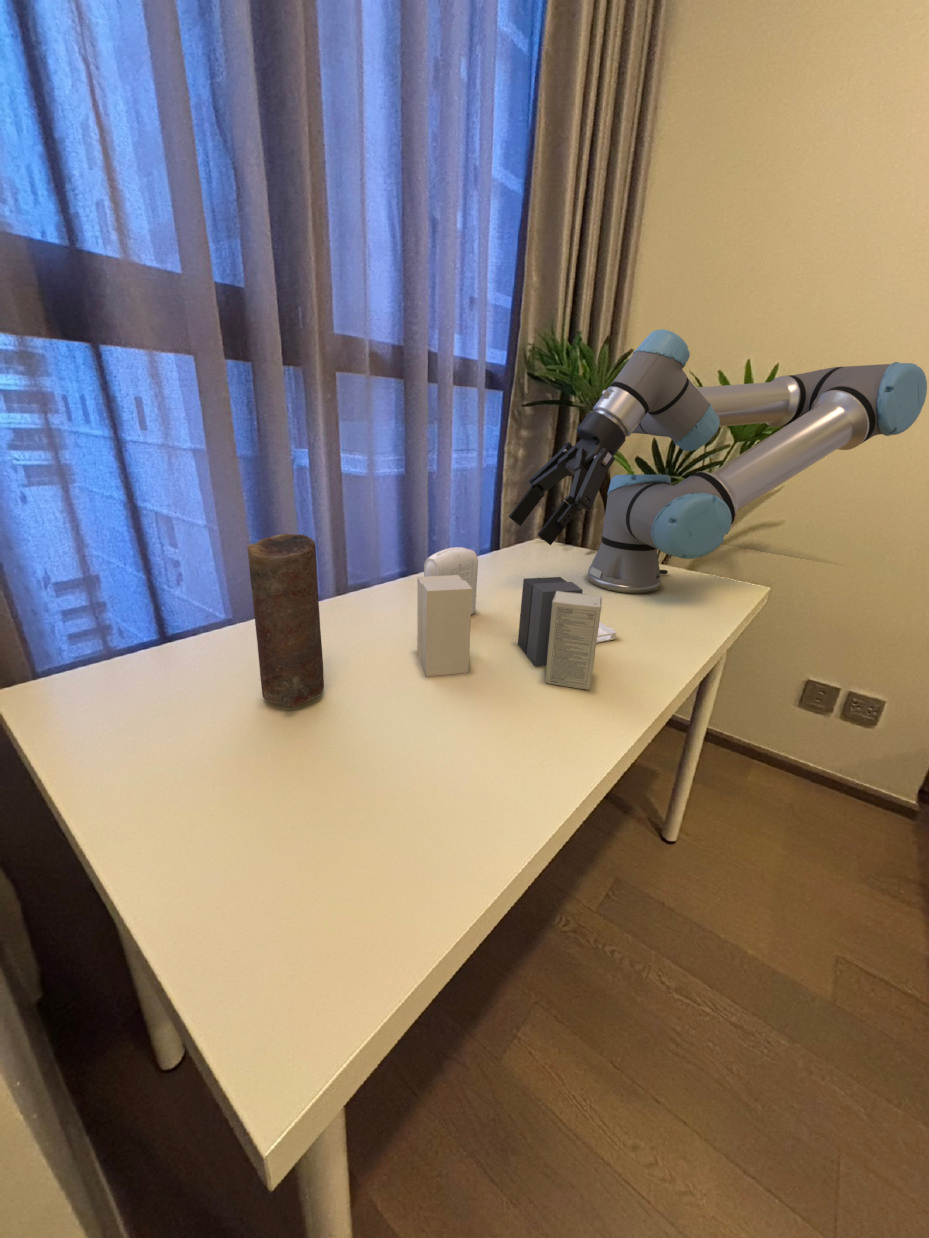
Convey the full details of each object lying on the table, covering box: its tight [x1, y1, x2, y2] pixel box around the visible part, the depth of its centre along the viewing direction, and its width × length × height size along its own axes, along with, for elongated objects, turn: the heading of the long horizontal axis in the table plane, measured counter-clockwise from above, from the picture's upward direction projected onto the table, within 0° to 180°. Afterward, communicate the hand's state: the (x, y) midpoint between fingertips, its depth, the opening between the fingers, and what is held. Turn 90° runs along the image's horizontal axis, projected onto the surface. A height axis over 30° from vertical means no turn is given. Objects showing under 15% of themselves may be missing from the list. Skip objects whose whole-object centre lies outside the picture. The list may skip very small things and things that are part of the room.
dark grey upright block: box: [517, 576, 584, 667], centre depth 75 cm, size 6×7×12 cm
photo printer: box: [423, 546, 479, 615], centre depth 86 cm, size 10×4×12 cm, turn 134°
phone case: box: [596, 621, 617, 644], centre depth 87 cm, size 7×1×15 cm
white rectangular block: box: [416, 575, 472, 677], centre depth 71 cm, size 6×7×12 cm
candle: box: [246, 533, 325, 708], centre depth 59 cm, size 8×7×20 cm
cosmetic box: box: [544, 591, 603, 691], centre depth 67 cm, size 6×4×12 cm
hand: (528, 530), depth 86 cm, fingers open, 13 cm apart
